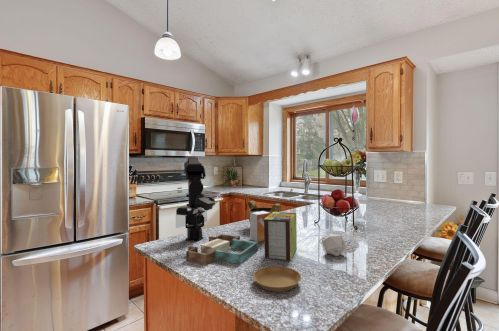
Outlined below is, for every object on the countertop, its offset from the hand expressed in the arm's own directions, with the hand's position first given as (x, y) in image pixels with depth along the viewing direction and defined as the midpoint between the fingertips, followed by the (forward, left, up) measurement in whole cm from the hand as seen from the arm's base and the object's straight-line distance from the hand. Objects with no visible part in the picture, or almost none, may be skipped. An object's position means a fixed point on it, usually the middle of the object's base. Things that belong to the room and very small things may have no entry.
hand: (195, 227), depth 115 cm
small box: (+21, +23, -9) cm, 33 cm away
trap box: (+14, 0, -9) cm, 17 cm away
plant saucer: (+43, -17, -10) cm, 47 cm away
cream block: (+10, 0, -10) cm, 14 cm away
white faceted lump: (+56, +16, -9) cm, 59 cm away
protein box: (+36, +9, -10) cm, 38 cm away
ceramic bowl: (+15, +42, -9) cm, 46 cm away
